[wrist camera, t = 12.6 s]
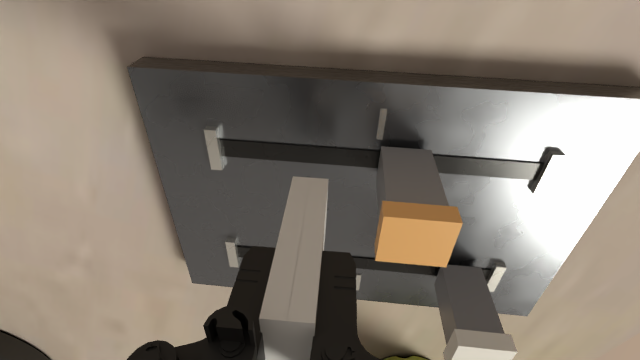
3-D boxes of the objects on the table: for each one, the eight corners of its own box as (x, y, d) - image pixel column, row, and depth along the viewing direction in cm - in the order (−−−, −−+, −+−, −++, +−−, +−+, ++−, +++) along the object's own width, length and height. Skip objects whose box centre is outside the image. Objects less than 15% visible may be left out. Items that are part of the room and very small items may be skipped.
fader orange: (371, 182, 18) (375, 261, 14) (377, 142, 17) (383, 216, 12) (425, 186, 18) (446, 267, 14) (436, 146, 17) (462, 223, 12)
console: (200, 266, 27) (190, 287, 25) (143, 57, 17) (122, 69, 16) (519, 297, 25) (529, 321, 24) (649, 87, 16) (679, 105, 14)
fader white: (430, 285, 23) (446, 369, 18) (438, 261, 21) (458, 345, 17) (474, 290, 22) (500, 375, 18) (485, 265, 21) (517, 351, 17)
